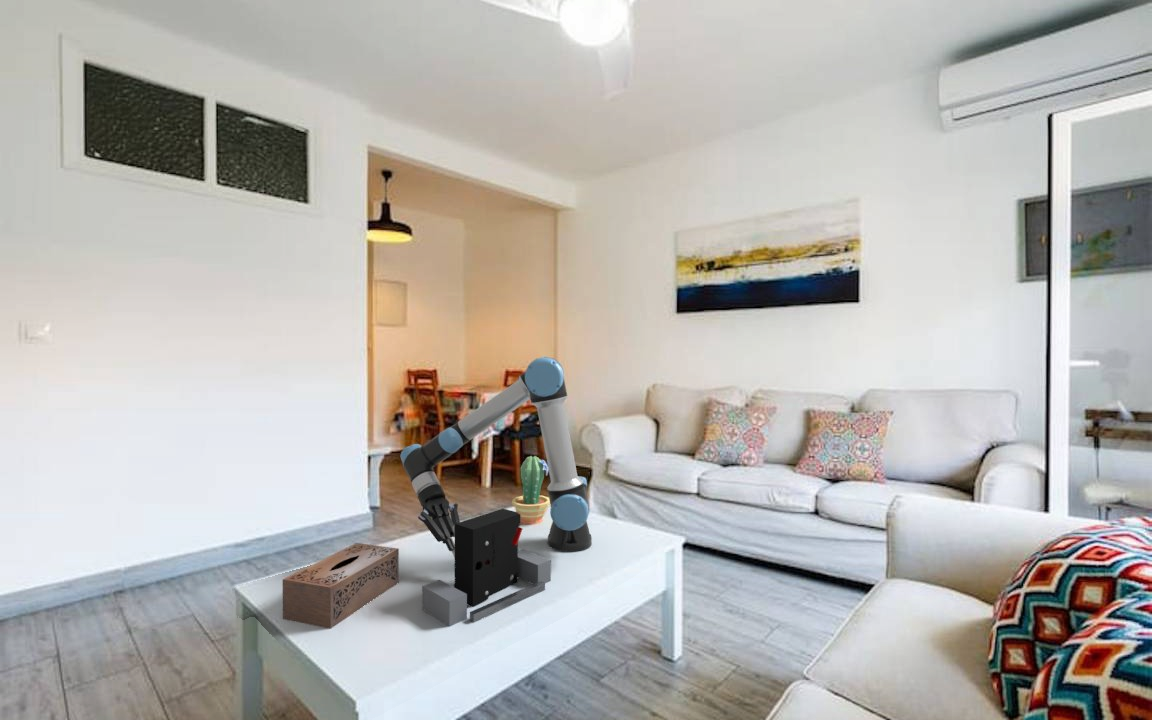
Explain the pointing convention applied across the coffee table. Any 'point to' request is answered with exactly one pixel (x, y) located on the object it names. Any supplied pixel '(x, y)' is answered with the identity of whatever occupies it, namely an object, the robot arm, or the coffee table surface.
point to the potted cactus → (532, 492)
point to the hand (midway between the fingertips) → (460, 559)
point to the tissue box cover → (340, 584)
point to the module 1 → (444, 602)
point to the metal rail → (506, 601)
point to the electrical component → (486, 554)
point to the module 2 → (533, 567)
